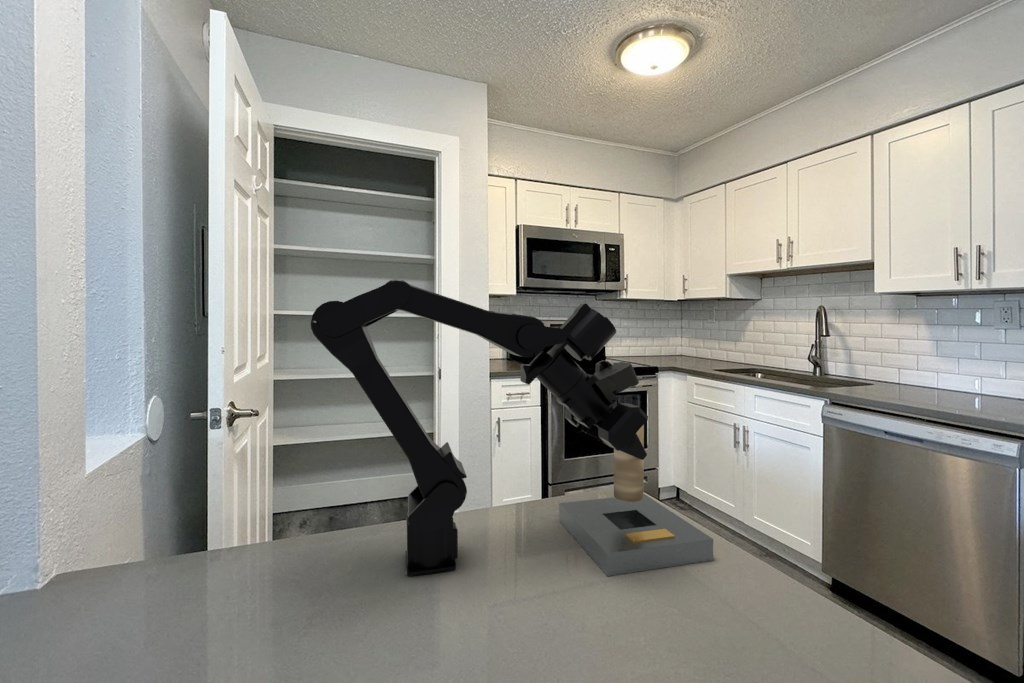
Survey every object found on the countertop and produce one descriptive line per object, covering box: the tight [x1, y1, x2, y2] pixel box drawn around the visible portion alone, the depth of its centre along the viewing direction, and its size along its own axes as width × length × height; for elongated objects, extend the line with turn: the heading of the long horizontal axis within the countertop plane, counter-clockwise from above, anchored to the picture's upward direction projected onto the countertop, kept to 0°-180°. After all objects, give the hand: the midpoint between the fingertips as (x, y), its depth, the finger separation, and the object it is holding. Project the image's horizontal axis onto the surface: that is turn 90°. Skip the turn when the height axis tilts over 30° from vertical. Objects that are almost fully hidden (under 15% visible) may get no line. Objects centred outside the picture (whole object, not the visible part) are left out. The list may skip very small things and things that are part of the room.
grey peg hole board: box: [558, 493, 714, 577], centre depth 70 cm, size 16×18×3 cm
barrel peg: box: [613, 424, 645, 502], centre depth 70 cm, size 4×4×12 cm
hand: (636, 453), depth 70 cm, fingers closed on barrel peg, 4 cm apart
